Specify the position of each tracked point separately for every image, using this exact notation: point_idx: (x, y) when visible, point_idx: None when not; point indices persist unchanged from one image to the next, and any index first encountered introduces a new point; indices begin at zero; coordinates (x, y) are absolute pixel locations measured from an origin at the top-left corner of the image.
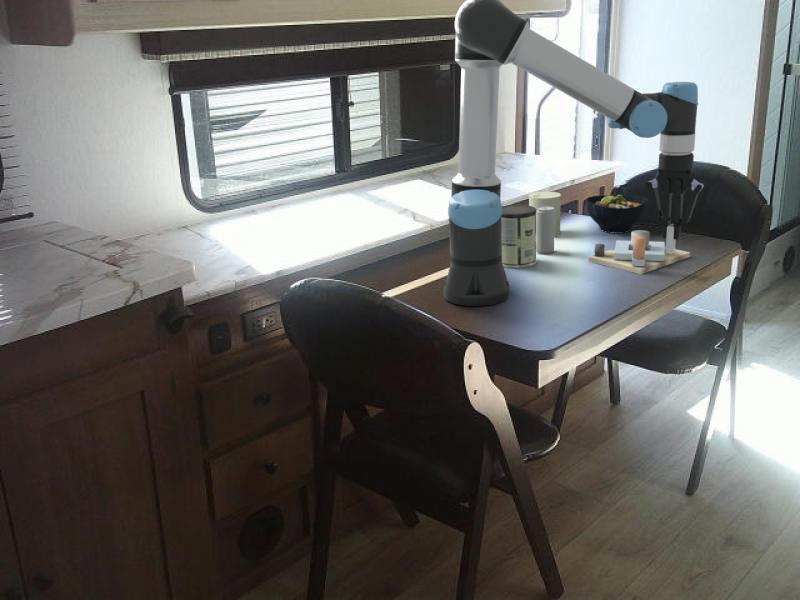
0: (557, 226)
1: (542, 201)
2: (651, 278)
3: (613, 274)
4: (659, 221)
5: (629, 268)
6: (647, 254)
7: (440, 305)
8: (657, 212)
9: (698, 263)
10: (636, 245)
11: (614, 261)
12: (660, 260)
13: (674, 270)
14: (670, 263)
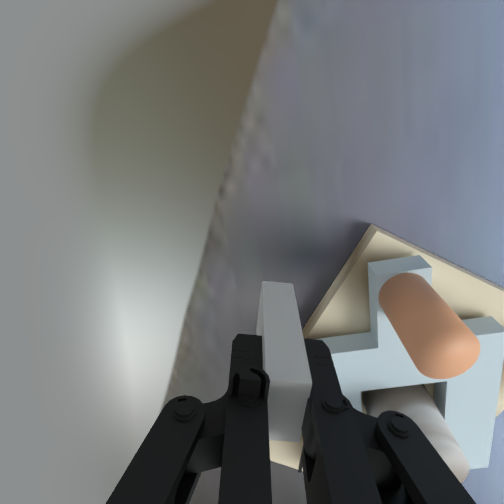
0: None
1: None
2: (326, 184)
3: (481, 192)
4: (379, 417)
5: (422, 251)
6: (369, 348)
7: None
8: (429, 490)
9: (196, 386)
10: (445, 309)
11: (486, 301)
12: None
13: (257, 300)
14: None
